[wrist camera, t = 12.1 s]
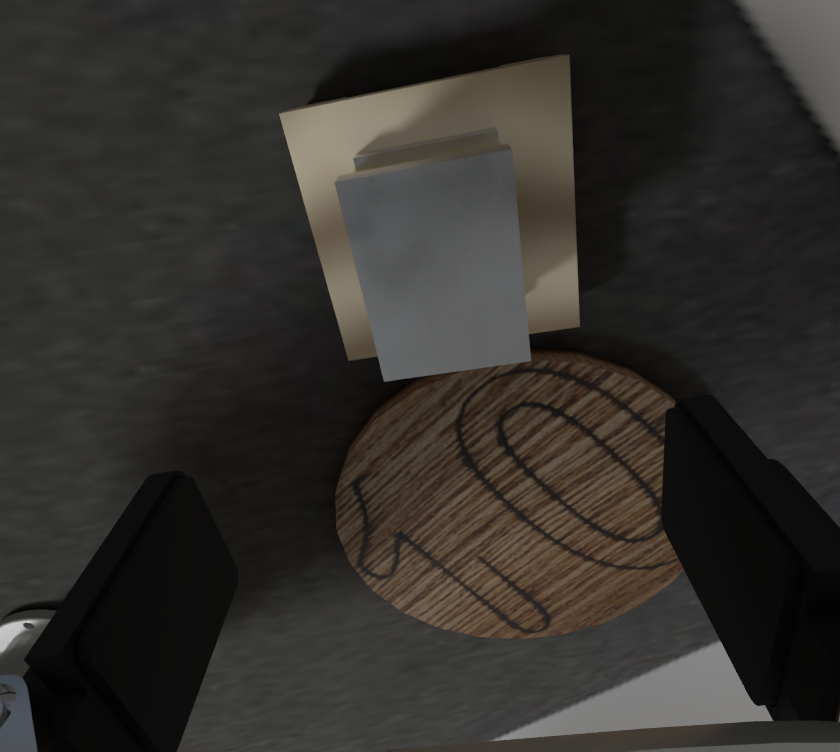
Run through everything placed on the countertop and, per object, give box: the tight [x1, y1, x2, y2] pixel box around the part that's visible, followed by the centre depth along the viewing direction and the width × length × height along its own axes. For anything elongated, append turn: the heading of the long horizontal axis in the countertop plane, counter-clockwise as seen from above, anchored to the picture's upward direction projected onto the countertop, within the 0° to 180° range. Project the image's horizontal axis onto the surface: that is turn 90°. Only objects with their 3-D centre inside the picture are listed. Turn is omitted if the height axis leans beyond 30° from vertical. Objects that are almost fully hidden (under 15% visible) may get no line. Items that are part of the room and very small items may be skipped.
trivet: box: [335, 347, 683, 639], centre depth 38 cm, size 25×25×2 cm
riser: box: [279, 54, 580, 361], centre depth 27 cm, size 12×12×3 cm
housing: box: [334, 127, 531, 382], centre depth 23 cm, size 6×8×6 cm
